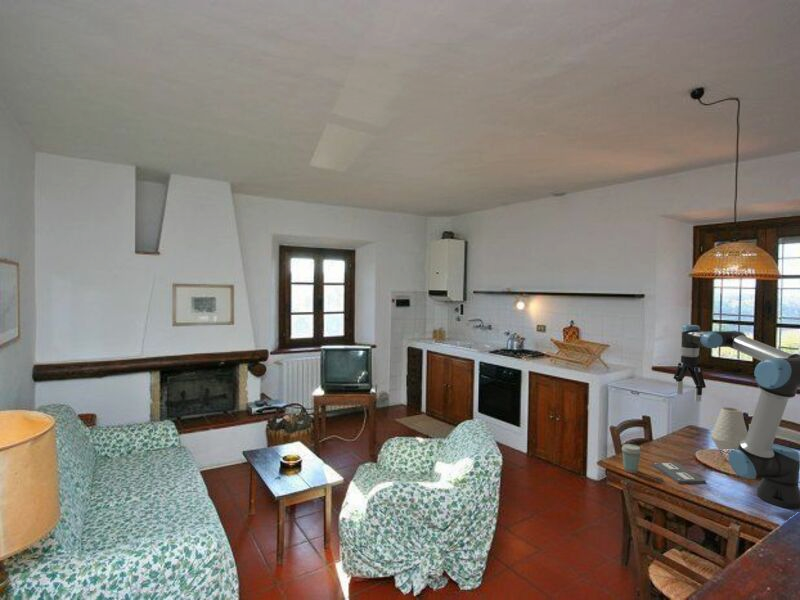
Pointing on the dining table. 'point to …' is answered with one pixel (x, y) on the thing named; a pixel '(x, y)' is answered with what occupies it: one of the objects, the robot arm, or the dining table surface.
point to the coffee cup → (631, 457)
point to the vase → (729, 429)
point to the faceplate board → (678, 473)
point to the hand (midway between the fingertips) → (688, 397)
